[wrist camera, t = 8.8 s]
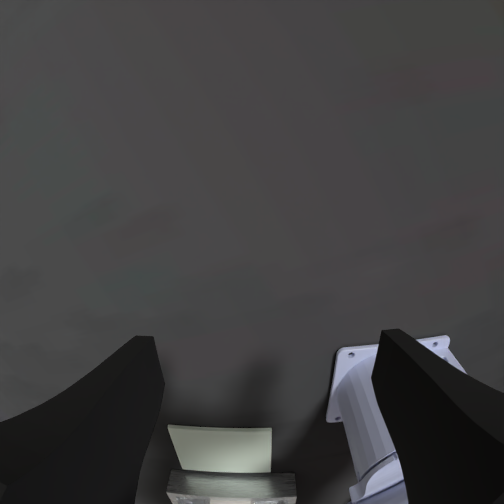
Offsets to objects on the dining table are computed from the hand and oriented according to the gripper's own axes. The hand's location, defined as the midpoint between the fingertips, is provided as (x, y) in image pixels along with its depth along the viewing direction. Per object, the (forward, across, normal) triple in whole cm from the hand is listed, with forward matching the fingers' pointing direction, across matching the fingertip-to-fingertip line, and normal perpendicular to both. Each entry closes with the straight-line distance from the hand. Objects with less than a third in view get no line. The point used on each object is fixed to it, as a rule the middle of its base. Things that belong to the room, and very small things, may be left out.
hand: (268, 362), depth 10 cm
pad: (+10, +4, +20) cm, 22 cm away
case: (+10, +3, +30) cm, 31 cm away
